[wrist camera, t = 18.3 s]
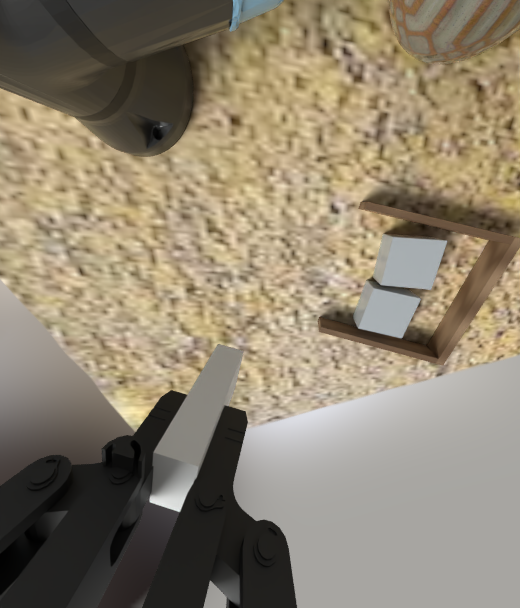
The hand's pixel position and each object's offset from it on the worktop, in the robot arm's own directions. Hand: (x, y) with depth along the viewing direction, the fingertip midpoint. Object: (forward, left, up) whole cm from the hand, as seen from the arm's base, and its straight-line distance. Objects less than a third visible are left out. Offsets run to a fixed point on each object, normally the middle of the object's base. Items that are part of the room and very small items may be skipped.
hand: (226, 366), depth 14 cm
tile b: (+1, +17, -25) cm, 30 cm away
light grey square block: (-6, +17, -25) cm, 30 cm away
